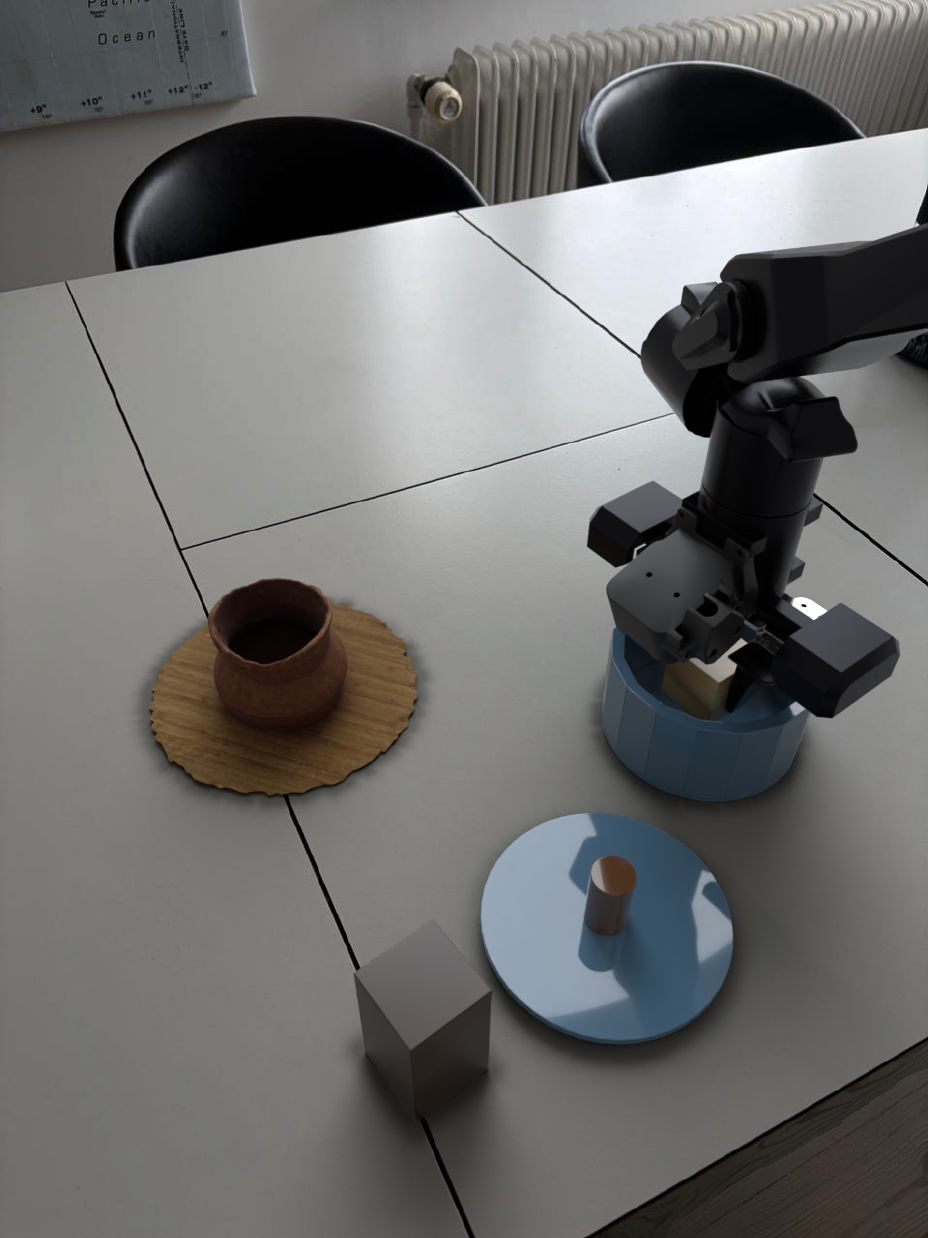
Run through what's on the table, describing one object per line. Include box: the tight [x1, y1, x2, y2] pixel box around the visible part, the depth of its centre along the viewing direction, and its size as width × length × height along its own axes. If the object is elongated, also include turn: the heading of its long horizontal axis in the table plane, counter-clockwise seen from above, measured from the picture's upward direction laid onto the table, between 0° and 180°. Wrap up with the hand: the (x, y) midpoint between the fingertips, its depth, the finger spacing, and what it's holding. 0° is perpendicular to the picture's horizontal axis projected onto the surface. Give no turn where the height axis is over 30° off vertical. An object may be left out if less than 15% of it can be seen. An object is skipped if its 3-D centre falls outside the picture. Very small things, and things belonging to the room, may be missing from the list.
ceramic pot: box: [148, 577, 419, 797], centre depth 65 cm, size 18×18×7 cm
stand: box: [353, 919, 493, 1125], centre depth 47 cm, size 4×4×8 cm
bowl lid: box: [479, 812, 734, 1045], centre depth 53 cm, size 14×14×5 cm
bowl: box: [601, 624, 812, 803], centre depth 64 cm, size 13×13×6 cm
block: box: [661, 639, 751, 721], centre depth 62 cm, size 4×4×4 cm
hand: (707, 688), depth 63 cm, fingers closed on block, 4 cm apart
